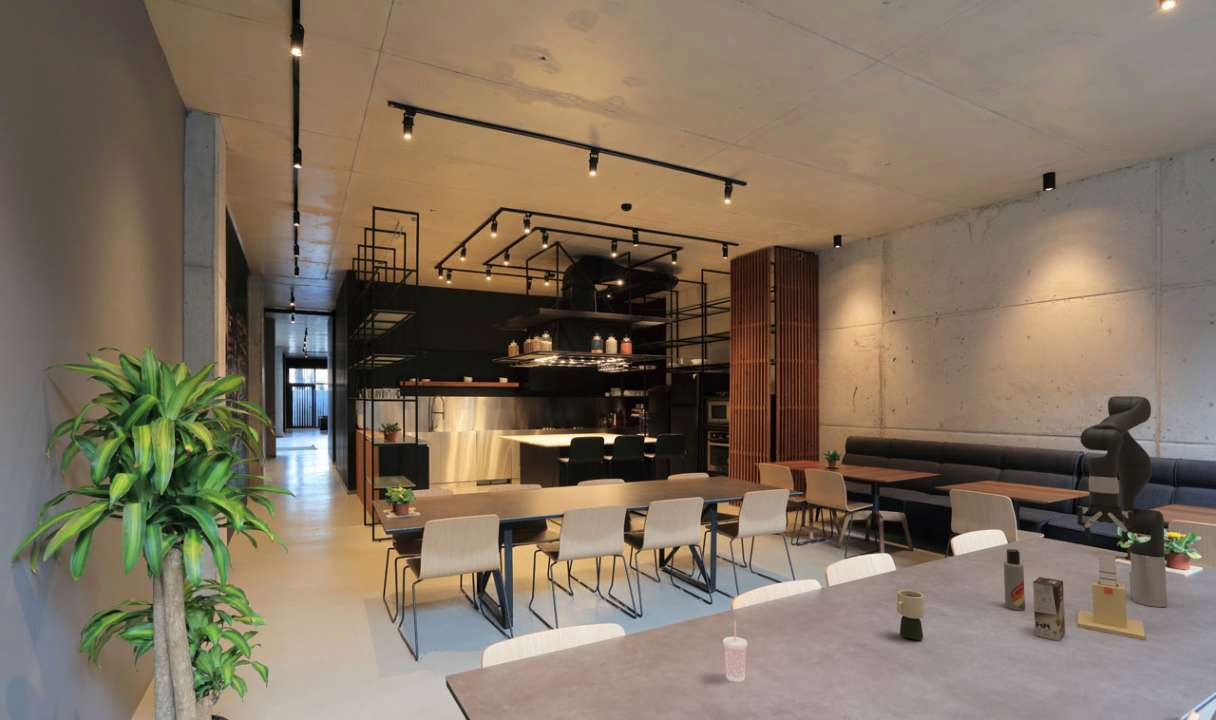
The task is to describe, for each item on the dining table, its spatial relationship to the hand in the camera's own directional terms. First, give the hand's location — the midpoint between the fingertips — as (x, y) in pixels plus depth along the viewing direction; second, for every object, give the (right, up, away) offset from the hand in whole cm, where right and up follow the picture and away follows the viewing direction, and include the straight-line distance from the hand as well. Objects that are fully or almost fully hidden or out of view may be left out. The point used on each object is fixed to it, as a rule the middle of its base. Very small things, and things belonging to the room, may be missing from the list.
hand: (1106, 541), depth 192 cm
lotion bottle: (-20, -28, +14) cm, 37 cm away
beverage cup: (-129, -23, -40) cm, 137 cm away
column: (0, -24, -2) cm, 24 cm away
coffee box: (-25, -26, -9) cm, 37 cm away
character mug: (-70, -25, -13) cm, 75 cm away
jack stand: (0, -27, -2) cm, 27 cm away
